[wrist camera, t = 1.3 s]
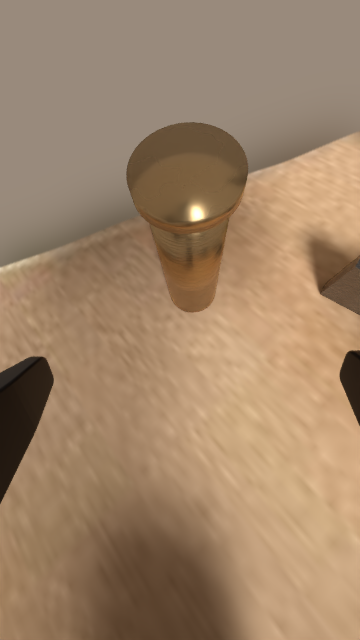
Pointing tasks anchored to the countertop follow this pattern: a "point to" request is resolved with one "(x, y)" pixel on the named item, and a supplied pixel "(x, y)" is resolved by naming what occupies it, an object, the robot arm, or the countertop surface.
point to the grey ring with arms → (345, 287)
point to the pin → (188, 203)
